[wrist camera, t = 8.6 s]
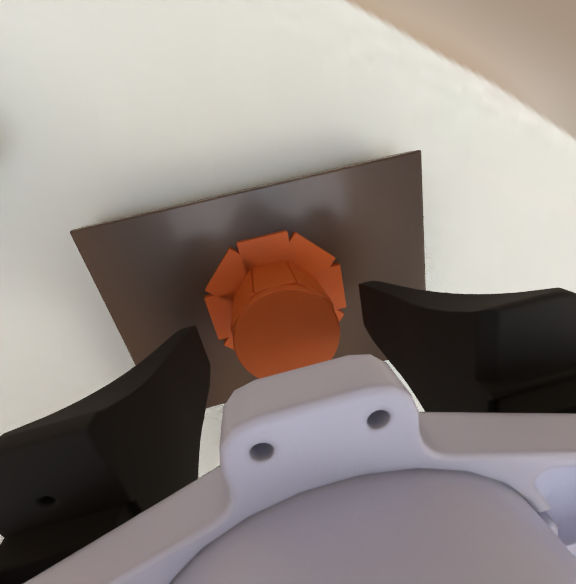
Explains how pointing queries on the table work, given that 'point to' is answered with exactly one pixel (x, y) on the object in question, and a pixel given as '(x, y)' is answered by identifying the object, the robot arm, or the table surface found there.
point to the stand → (248, 224)
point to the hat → (277, 303)
